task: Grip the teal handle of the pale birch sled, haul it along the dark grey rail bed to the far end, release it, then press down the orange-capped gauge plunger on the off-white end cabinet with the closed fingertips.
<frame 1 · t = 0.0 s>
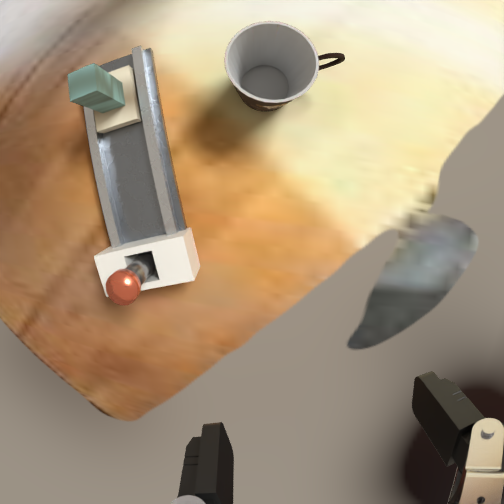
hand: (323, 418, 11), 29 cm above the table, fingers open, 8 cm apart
end cabinet: (154, 255, 40), on the table
coffee mug: (277, 89, 35), on the table
carriage: (102, 92, 29), point 6 cm above the table, slide at 0.0 cm
gauge plunger: (135, 274, 32), point 8 cm above the table, slide at 0.0 cm
rail bed: (131, 158, 37), on the table
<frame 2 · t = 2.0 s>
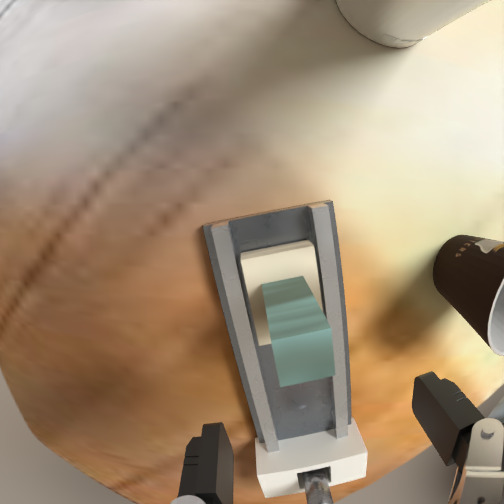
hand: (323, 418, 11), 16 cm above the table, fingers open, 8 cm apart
end cabinet: (306, 442, 32), on the table
coffee mug: (466, 268, 27), on the table
carriage: (291, 316, 20), point 6 cm above the table, slide at 0.0 cm
gauge plunger: (318, 493, 24), point 8 cm above the table, slide at 0.0 cm
rail bed: (293, 357, 28), on the table
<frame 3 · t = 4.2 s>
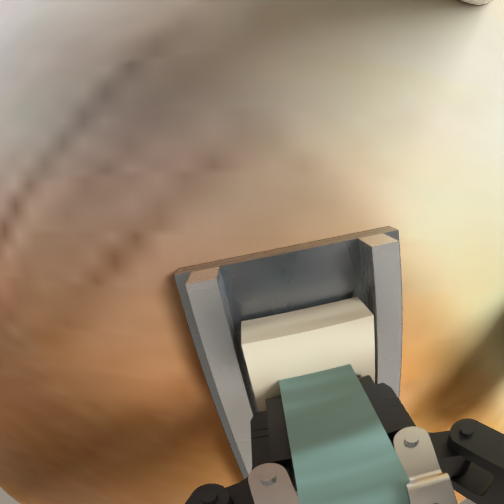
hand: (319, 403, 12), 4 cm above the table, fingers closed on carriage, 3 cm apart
carriage: (333, 447, 10), point 6 cm above the table, slide at 0.0 cm, touching gripper
rail bed: (317, 448, 18), on the table
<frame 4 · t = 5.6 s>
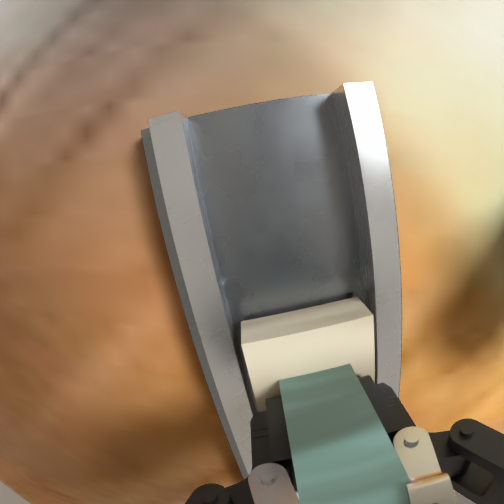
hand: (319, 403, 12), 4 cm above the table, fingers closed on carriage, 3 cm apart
carriage: (333, 447, 10), point 6 cm above the table, slide at 6.3 cm, touching gripper
rail bed: (307, 377, 16), on the table
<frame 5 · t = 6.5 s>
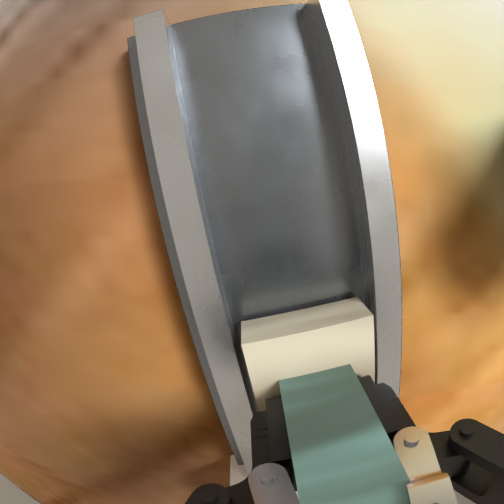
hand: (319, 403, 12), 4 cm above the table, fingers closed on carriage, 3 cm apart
end cabinet: (318, 462, 18), on the table
carriage: (333, 447, 10), point 6 cm above the table, slide at 10.8 cm, touching gripper
rail bed: (296, 301, 15), on the table
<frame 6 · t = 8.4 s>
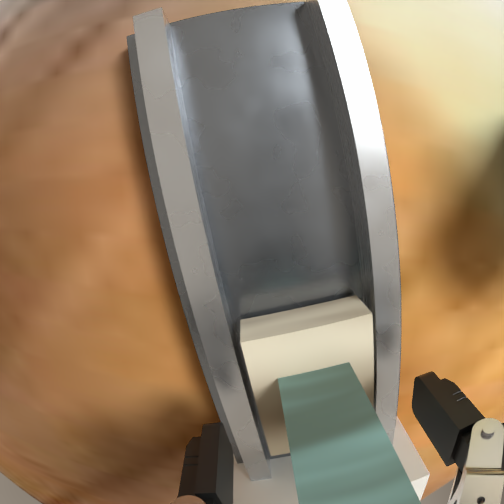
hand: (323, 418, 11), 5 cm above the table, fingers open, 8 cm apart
end cabinet: (318, 460, 18), on the table
carriage: (332, 445, 10), point 6 cm above the table, slide at 10.9 cm
rail bed: (295, 298, 15), on the table
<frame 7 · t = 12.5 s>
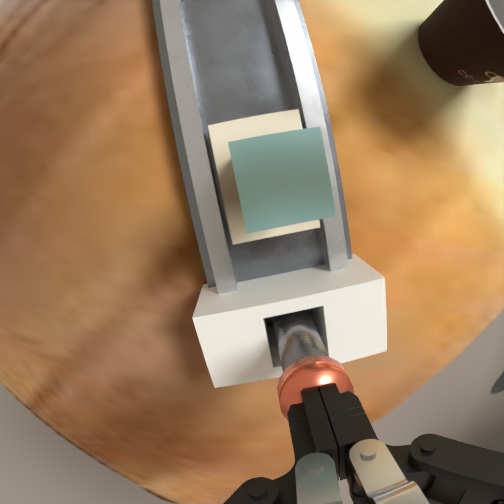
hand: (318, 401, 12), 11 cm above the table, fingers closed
end cabinet: (285, 301, 23), on the table
coffee mug: (461, 58, 19), on the table
carriage: (270, 176, 15), point 6 cm above the table, slide at 10.9 cm
gauge plunger: (300, 347, 17), point 7 cm above the table, slide at 1.1 cm, touching gripper
rail bed: (251, 125, 20), on the table
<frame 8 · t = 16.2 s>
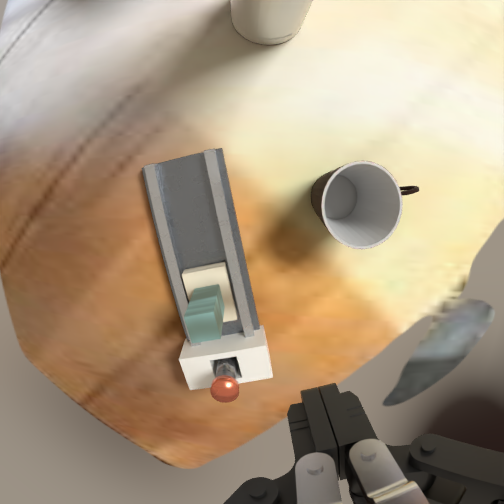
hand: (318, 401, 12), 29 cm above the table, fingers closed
end cabinet: (227, 347, 44), on the table
coffee mug: (345, 199, 40), on the table
carriage: (207, 307, 36), point 6 cm above the table, slide at 10.9 cm
gauge plunger: (226, 369, 38), point 6 cm above the table, slide at 2.0 cm, touching rail bed
rail bed: (205, 263, 41), on the table
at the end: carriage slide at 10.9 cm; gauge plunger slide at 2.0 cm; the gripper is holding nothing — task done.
